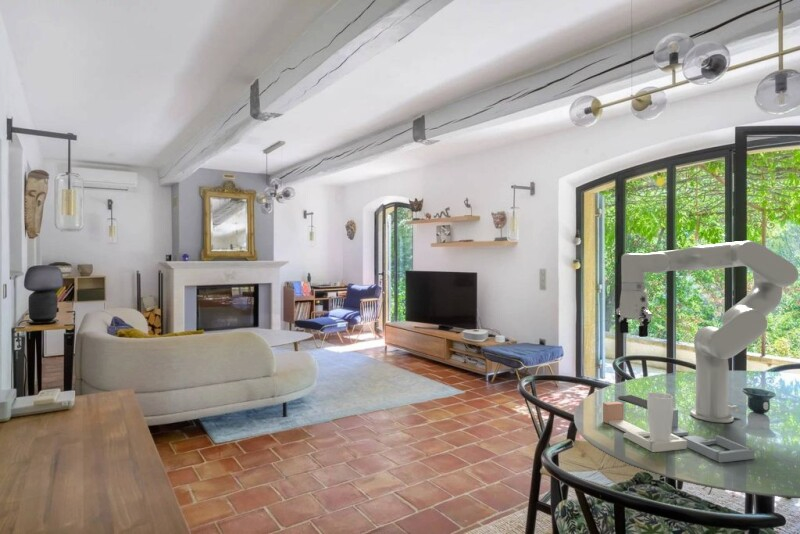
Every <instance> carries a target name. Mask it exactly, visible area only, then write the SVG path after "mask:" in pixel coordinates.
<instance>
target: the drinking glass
mask: <svg viewBox="0 0 800 534" xmlns="http://www.w3.org/2000/svg"><path fill="white" fill-rule="evenodd" d="M646 400H647V408H646V409H647V417H648V429H649V433H650V436H649V440H650V441H652V442H658V441H668V440H671V430H672V420H673V408H674V409H675V407H674V396H673V395H672V394H668V393H664V392H653V391H652V392H648V393H647V399H646Z"/></svg>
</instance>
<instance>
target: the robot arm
mask: <svg viewBox="0 0 800 534" xmlns="http://www.w3.org/2000/svg"><path fill="white" fill-rule="evenodd" d="M620 259H621V261H620V262H621V263H620V264H621V267H620V268H621V273H620V276H621V292H620V298H619V306H618V308H616V309H615V313H616V317H617V319H618V322H619V333H620V334H628V333H629V321H628V320H629V319H630V320H637V322H638V323H639V325H638V337H639V338H648V335H649V334H648V332H649V330H648V327H649V326H650V323H651V321H652V318H653V313H652V312H651V311H650V307H649V300H648V294H647V291H646V290H645V289H646V285H645V284H646V283H645V280H646V278H645V274H646V273H649V274H650V273H651V274H663V273H665V272H670V271H705V270H715V269H726V268H735V267H736V268H737V267H746V268H747V269H749V270H751V272H752V276H753V287H752V289H751V291H750V292H749V293H748V294H747V295H745V297H743V298H742V299H740V301H738V302H737V303H736V304H734V305H733V306H731V307H730V308H729V309H728V310H726V311H725V312H724V314H723V315H722V317H721V323H722V326H721V327H716V326H711V325H710V326H709V325H708V326H703V327H701V328H699V329H698V330H697V331H696V332H695V335H694V338H693V339H694V340H693V345H694V353H695V408H692V409H690V413H689V414H690V416H692V417H693V418H695V419H698V420H701V421H705V422H711V423H719V424H721V423H722V424H724V423H725V424H727V423H732V422H734V420H735V419H734V418H735V417H734V415H732V414H731V413H732V412H739V410H740V407H739V406H738V405H730V404H729V375H730V374H729V371H730V369H729V368H730V367H729V359H731V358H734V357H735V356H737V355H738V354H739V353H741V352H742V351H744V350H745V349H746V348H748V346H750V345H752V343H754V342H755V341H757V340H758V339H760V337H762V336H763V335H764V333H765V332H766V330H767V328H768V320H767V318H766V317H767V316H768V315H769V314H770V313H772V311H774V310H775V309H776V308H777V307H778V306H779V304H780V302H781V301H782V296H783V288H786V287H790V286H792V285H794V284H795V283H796V281H797V280H798V278H799V271H798V268H797V266H795V264H793V263H792V262H791V261H789V260H787V258H785V257H782V256H781V255H779V254H777V253H776V252H774V251H773V250H771V249H769V248H768V247H766V246H764V245H762V244H760V243H759V242H757V241H754V240H743V241H742V240H741V241H732V242H731V241H730V242H723V243H715V244H706V245H705V244H704V245H697V246H696V245H695V246H691V247H686V248H680V249H679V248H678V249H674V250H673V249H672V250H666V251H665V250H663V251H656V252H655V251H653V252H647V253H637V252H636V253H635V252H634V253H633V252H632V253H629V252H628V253H624V254H622V255H621V258H620Z"/></svg>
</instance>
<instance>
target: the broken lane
mask: <svg viewBox="0 0 800 534" xmlns="http://www.w3.org/2000/svg"><path fill="white" fill-rule="evenodd" d="M671 434H674V435H676V436H678V437H682V439H685V440H687V449H690V450H693V451H695V452H696V453H698V454H701V455H703V456H704V457H707V458H709V459H712V460H714V461H716V462H718V463H729V462H737V461H746V460H747V461H748V460H754V459H755V449H753V448H751V447H747V446H745V445H743V444H740V443H738V442H736V441H733V440H731V439H728V438H726V437H724V436H721V435H719V434H718V435H717V434H716V435H715V438H712V439H706V438H703V437H701V436H699V435H690V434H689V431H688V430H685V429H682V428H680V427H679V409H677V408H675V407H674V408H673V420H672V430H671ZM710 445H718V446H720V447H722V448H724V449H727V450H723V451H722V450H721V451H719V450H716V449H714V448H712V447H709V446H710Z"/></svg>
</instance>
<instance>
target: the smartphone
mask: <svg viewBox="0 0 800 534" xmlns="http://www.w3.org/2000/svg"><path fill="white" fill-rule="evenodd" d="M617 398H618V400H621V401H624V402H627V403H629V404H633V405H635V406H639V407H640V408H641V407H642V408H644V409H647V399H644V398H641V397H639V396H636V395H633V394H627V395H619V396H617Z"/></svg>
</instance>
